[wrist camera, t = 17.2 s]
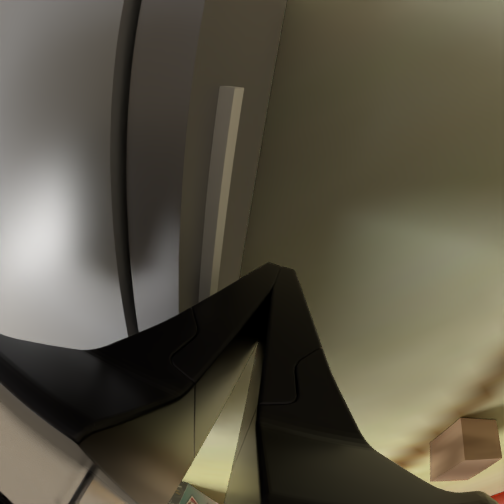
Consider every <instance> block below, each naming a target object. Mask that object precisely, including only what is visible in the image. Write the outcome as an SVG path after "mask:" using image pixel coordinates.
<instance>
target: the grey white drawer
mask: <svg viewBox="0 0 504 504" xmlns="http://www.w3.org/2000/svg"><path fill="white" fill-rule="evenodd" d="M286 3H287V0H142V2H141V7H140V13H139V18H138V25H137V31H136V38H135V45H134V53H133V61H132V70H131V80H130V92H129V106H128V124H127V159H126V182H127V217H128V236H129V251H130V263H131V274H132V284H133V293H134V301H135V309H136V316H137V324H138V330H139V332H141V331H143V330H146V329H148V328H150V327H153V326H155V325H157V324H159V323H162V322H164V321H166V320H168V319H170V318H172V317H174V316H175V315H177V314H179V313H181V312H183V311H185V310H186V309H188V308H191V307H192V306H194V305H195V304H197V303H199V302H201V301H202V300H204V299H206V298H208V297H209V296H211V295H213V294H215V293H216V292H218V291H220V290H221V289H223V288H225V287H227V286H228V285H230V284H232V283H234V282H235V281H237V280H239V277H240V271H241V264H242V258H243V252H244V246H245V240H246V234H247V228H248V222H249V216H250V210H251V204H252V198H253V192H254V186H255V180H256V174H257V168H258V162H259V156H260V150H261V145H262V139H263V133H264V127H265V121H266V116H267V110H268V104H269V98H270V93H271V87H272V81H273V76H274V70H275V64H276V59H277V53H278V47H279V42H280V36H281V31H282V25H283V20H284V14H285V9H286Z"/></svg>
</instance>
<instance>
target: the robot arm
mask: <svg viewBox="0 0 504 504" xmlns="http://www.w3.org/2000/svg"><path fill="white" fill-rule="evenodd" d="M257 342H258V345H257V350H256V355H255V360H254V365H253V370H252V375H251V380H250V385H249V390H248V395H247V400H246V405H245V410H244V415H243V419H242V424H241V429H240V434H239V438H238V443H237V448H236V452H235V457H234V461H233V466H232V472H231V475H230V479H229V484H228V488H227V493H226V497H225V501H224V504H499V503H498V502H497V501H496V500H494V499H493V498H491V497H490V496H489V495H487V494H486V493H484V492H481V491H473V492H464V493H454V492H449V491H445V490H442V489H439V488H436V487H434V486H432V485H430V484H429V483H427V482H425V481H423V480H422V479H420V478H418V477H417V476H415V475H413V474H412V473H410V472H408V471H407V470H405V469H404V468H402V467H400V466H399V465H397V464H396V463H394V462H393V461H391V460H389V459H388V458H386V457H385V456H383V455H382V454H380V453H379V452H377V451H376V450H374V449H373V448H372V447H371V446H370V445H369V444H368V442H367V441H366V440H365V439H364V437H363V436H362V434H361V432H360V430H359V429H358V427H357V425H356V423H355V421H354V418H353V416H352V414H351V412H350V410H349V408H348V406H347V404H346V402H345V400H344V398H343V396H342V394H341V392H340V390H339V388H338V386H337V384H336V382H335V380H334V377H333V375H332V373H331V370H330V368H329V365H328V362H327V360H326V357H325V354H324V351H323V349H322V346H321V343H320V340H319V337H318V334H317V331H316V328H315V325H314V323H313V320H312V317H311V314H310V311H309V308H308V306H307V303H306V300H305V297H304V295H303V292H302V289H301V286H300V284H299V281H298V278H297V275H296V273H295V271H294V270H293V269H290V268H286V267H281V266H279V265H276V264H272V263H266V264H265V265H263V266H261V267H259V268H258V269H256V270H254V271H253V272H251V273H249V274H247V275H246V276H244V277H242V278H240V279H239V280H237V281H235V282H234V283H232V284H230V285H228V286H227V287H225V288H223V289H221V290H220V291H218V292H216V293H215V294H213V295H211V296H209V297H208V298H206V299H204V300H202V301H201V302H199V303H197V304H195V305H194V306H192V307H191V308H188V309H186V310H185V311H183V312H181V313H179V314H177V315H175V316H174V317H172V318H170V319H168V320H166V321H164V322H162V323H159V324H157V325H155V326H153V327H150V328H148V329H146V330H143V331H141V332H139V333H136V334H134V335H131V336H129V337H126V338H124V339H121V340H119V341H116V342H114V343H111V344H109V345H106V346H103V347H100V348H96V349H89V350H79V349H72V348H65V347H59V346H53V345H47V344H42V343H36V342H31V341H26V340H21V339H16V338H12V337H9V336H5V335H3V334H0V504H168V502H169V501H170V499H171V498H172V496H173V494H174V493H175V491H176V489H177V488H178V486H179V484H180V483H181V481H182V479H183V478H184V476H185V474H186V472H187V471H188V469H189V467H190V466H191V464H192V462H193V461H194V458H195V457H196V455H197V453H198V452H199V450H200V448H201V446H202V445H203V443H204V441H205V439H206V438H207V436H208V434H209V432H210V431H211V429H212V427H213V425H214V423H215V422H216V420H217V418H218V416H219V414H220V412H221V411H222V409H223V407H224V405H225V403H226V401H227V400H228V398H229V396H230V394H231V392H232V390H233V388H234V387H235V385H236V383H237V381H238V379H239V377H240V375H241V373H242V371H243V370H244V368H245V366H246V364H247V362H248V360H249V358H250V356H251V354H252V352H253V350H254V348H255V346H256V344H257Z"/></svg>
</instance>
